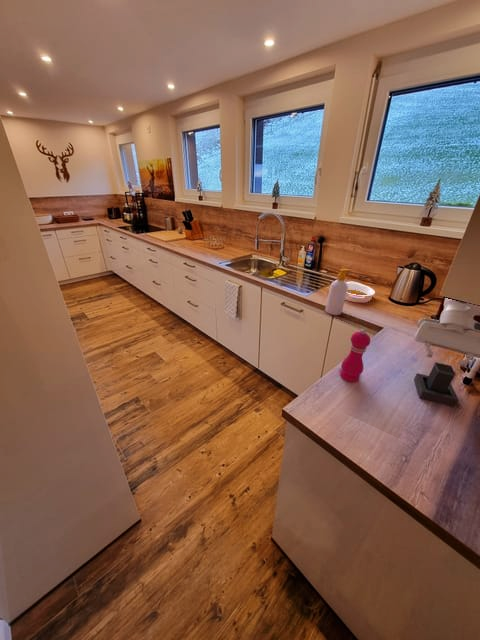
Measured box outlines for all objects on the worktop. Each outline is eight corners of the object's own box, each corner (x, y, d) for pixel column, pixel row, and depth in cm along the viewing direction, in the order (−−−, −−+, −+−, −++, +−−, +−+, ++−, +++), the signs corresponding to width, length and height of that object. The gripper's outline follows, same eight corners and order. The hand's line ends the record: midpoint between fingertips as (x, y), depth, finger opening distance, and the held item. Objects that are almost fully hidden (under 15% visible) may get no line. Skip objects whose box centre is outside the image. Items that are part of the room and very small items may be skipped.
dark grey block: (439, 388, 90) (451, 365, 86) (442, 397, 87) (455, 374, 82) (423, 385, 92) (435, 362, 87) (426, 393, 88) (438, 370, 83)
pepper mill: (361, 375, 96) (377, 328, 87) (357, 386, 91) (373, 337, 81) (341, 367, 100) (354, 321, 90) (336, 377, 94) (349, 330, 85)
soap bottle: (345, 315, 139) (356, 272, 128) (327, 315, 139) (337, 271, 127) (339, 308, 146) (349, 267, 135) (323, 308, 146) (331, 266, 135)
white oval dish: (376, 308, 149) (378, 300, 146) (335, 302, 154) (337, 294, 152) (370, 290, 173) (372, 283, 171) (334, 285, 178) (336, 279, 176)
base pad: (445, 387, 92) (449, 380, 91) (454, 407, 84) (458, 400, 82) (413, 379, 95) (416, 373, 94) (419, 398, 87) (422, 391, 85)
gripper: (422, 313, 93) (412, 349, 90) (496, 329, 83) (488, 370, 81) (417, 319, 98) (408, 353, 95) (487, 335, 89) (478, 373, 86)
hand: (445, 361), depth 88 cm, fingers open, 8 cm apart
